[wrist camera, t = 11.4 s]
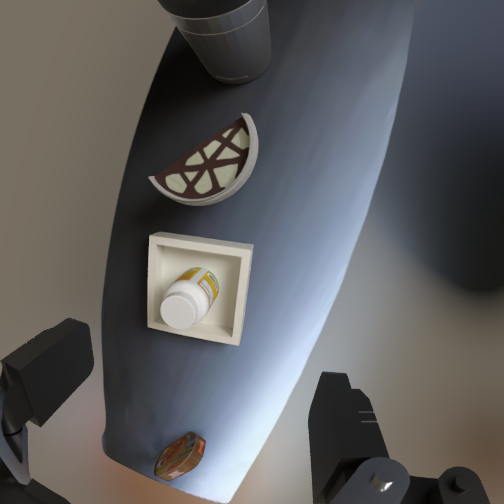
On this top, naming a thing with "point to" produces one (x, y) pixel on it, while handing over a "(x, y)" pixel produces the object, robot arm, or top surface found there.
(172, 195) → the ice cream tub
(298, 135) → the top surface
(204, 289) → the supplement bottle
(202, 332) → the tray
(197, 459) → the tin
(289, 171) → the top surface
